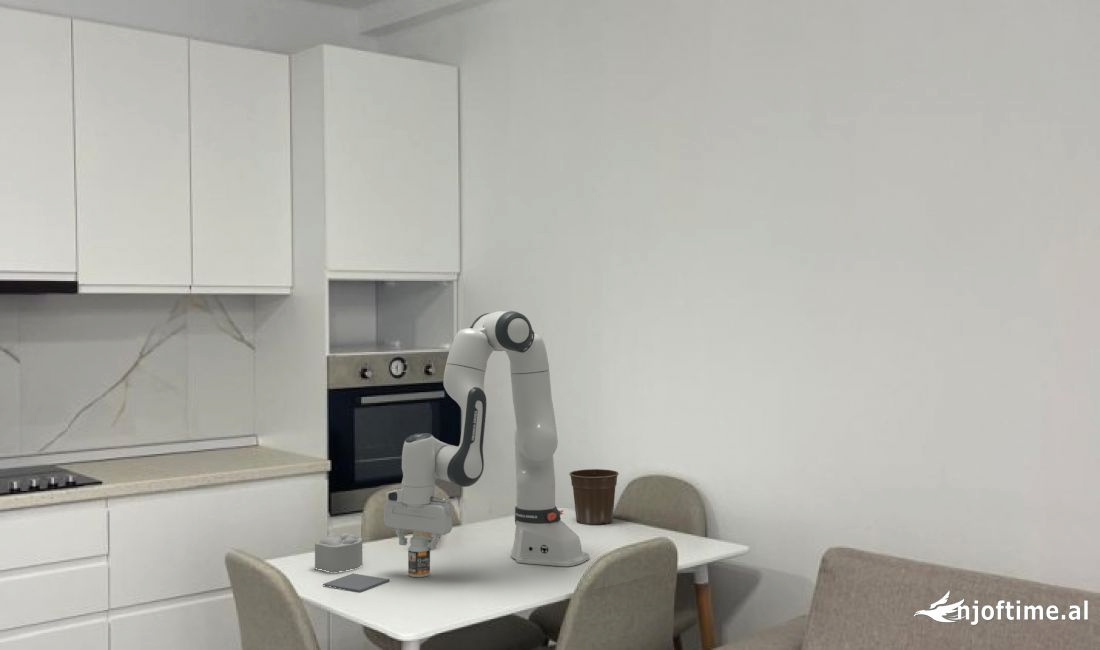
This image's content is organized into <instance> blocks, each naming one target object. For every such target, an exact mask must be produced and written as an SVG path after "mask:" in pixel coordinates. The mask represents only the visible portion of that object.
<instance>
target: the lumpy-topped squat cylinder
mask: <svg viewBox="0 0 1100 650" xmlns="http://www.w3.org/2000/svg"><path fill="white" fill-rule="evenodd" d="M361 565H362V566H363V538H362V537H360V536H357V535H356V534H351V533H348V532H344V533H342V534H340V535H336V534H335V533H329V534H328V535H326V537H323V538H322V539H320V540H317V541H316V542H314V569H315V568H317V569H322V570H326V571H329V572H339V571H346V570H350V569H355V568H358V567H360V566H361ZM362 566H361V567H362ZM361 567H360V568H361ZM358 569H359V568H358ZM355 570H356V569H355Z"/></svg>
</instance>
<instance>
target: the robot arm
mask: <svg viewBox="0 0 1100 650" xmlns="http://www.w3.org/2000/svg"><path fill="white" fill-rule="evenodd" d="M545 345H546V344H545V342H544V339H543V338H542V336H540V335H539V334H537V333H535V332H534V330H533V327H532V324H531V322H530V320H529V319H528V317H527V316H526V315H524V314H523V313H521V312H518V311H514V310H513V311H512V310H510V311H508V310H507V311H506V310H498V311H494V312H488V313H483V314H480V315H479V316H478V317H477V318H475V320H474V321H473V322H472V324H471V325H470V327H468V328H467V327H466V328H462V329H460V330H459V331H458V332H457V333H456V334H455V336H454V339H453V341H452V343H451V346H450V349H449V352H448V356H447V359H446V362H445V367H444V373H443V382H442V383H443V387H444V389H445V391H446V393H447V395H448V396H449V397H450V398H451V399H452V400H454V402H456V404H458V406H459V407H460V410H461V413H462V424H461V430H460V431H461V432H460V433H461V434H460V440H459V445H458V446H457V445H453V444H449V443H446V442H443V441H440V440H439V439H437V438H436V437H434V435H433V434H431V433H426V432H425V433H424V432H422V433H415V434H412V435H409V436H408V437H406V439H405V440H404V442H403V445H402V453H401V470H402V480H401V488H397V489H394V490H391V491H388V492H386V493H385V501H386V502H385V503H384V506H383V507H384V508H383V523H384V525H385V527H388V528H393V529H395V534H396V535H397V538H398V545H399V546H407V545H408V537H405V533H404V531H405V530H408V531H413V530H414V531H421V532H427V533H431V537H433V539H432V541H431V542H429V543H428V549H430V551H434V550H437V544H436V542H437V543H438V542H439V539H440V538H441V535H442V536H443V535H447V534H450V533H451V531H452V530H453V519H452V513H451V512H452V504H451V503H450V501H448V500H447V499H446V498H443V497H442V498H439V497H436V495H435V494H436V480H437V479H438V480H443V481H445V482H449V483H453V484H455V485H458V486H459V487H465V488H467V487H471V486H473V485H475V484H476V483H477V482H478V481H479V480H480V478H481V477H482V476H483V475H482V474H483V472H484V468H485V462H484V461H485V460H484V450H483V449H484V436H485V429H486V427H485V426H486V418H487V417H486V415H487V397H486V396H487V395H486V393H485V376H486V370H487V365H488V361H489V359H490V357H491V354H492V353H493V352H505V353H506V355H507V357H508V359H509V368H510V369H509V370H510V382H511V392H512V393H511V395H512V403H513V409H514V410H513V411H514V416H515V423H516V424H515V426H516V428H515V432H514V452H515V453H514V456H515V474H516V475H515V476H516V477H515V478H516V481H515V482H516V506H515V507H514V524H515V533H514V541H513V545H512V546H513V547H512V550H511V552H510V553H511V554H510V557H511V558H512V559H514V560H515V562H516V563H517V564H518V563H519V564H528V565H541V566H552V567H553V566H554V567H555V566H556V567H572V566H577V565H580V564H583V563H585V562H587V561H588V560H589V559H590V554H589V552H586V551H585V552H584V551H582V543H581V539H580V536H579V535H578V534H577V533H576V532H574V531H573V530H572V529H571V528H570V527H569V526H568V525H567V524H565V523H564V522H563V521H562V520H561V515H564V509H562V510H559V509H558V508H557V506H556V475H555V474H556V473H555V462H554V454H555V453H556V451H557V448H558V444H559V443H558V442H559V441H558V439H559V438H558V433H557V424H556V417H555V416H556V415H555V411H554V405H553V403H554V402H553V397H552V388H551V387H552V384H551V376H550V375H551V374H550V366H549V365H550V364H549V358H548V353H547V348H546V346H545ZM440 534H441V535H440ZM439 537H440V538H439ZM586 560H587V561H586Z"/></svg>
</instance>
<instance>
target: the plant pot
mask: <svg viewBox="0 0 1100 650" xmlns="http://www.w3.org/2000/svg"><path fill="white" fill-rule="evenodd" d="M619 475H620V474H619V472H618V471H616V470H612V469H602V468H594V469H593V468H589V469H578V470H573V471H570V472H569V476H570V480H571V486H572V491H573V500H574V510H575V511H574V512H575V521H576V522H577V523H580V524H583V525H587V524H594V525H595V524H596V525H602V524H610V523H612V522H613V521H614V511H615V510H614V509H615V498H616V497H615V494H616V486H617V481H618V476H619Z"/></svg>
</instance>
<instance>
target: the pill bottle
mask: <svg viewBox="0 0 1100 650" xmlns="http://www.w3.org/2000/svg"><path fill="white" fill-rule="evenodd" d="M409 543H410V546H409V547H408V550H407V551H408V553H407V554H408V558H407V559H408V560H407V561H408V562H407V563H408V564H407V566H408V567H407V568H408V571H407V572H408V576H410V577H413V578H424V577H428V576H430V574H431V550H430V549H428V545H427V543H428V538H427V537H423V536H417V537H413V536H411V537H410V540H409Z"/></svg>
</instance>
